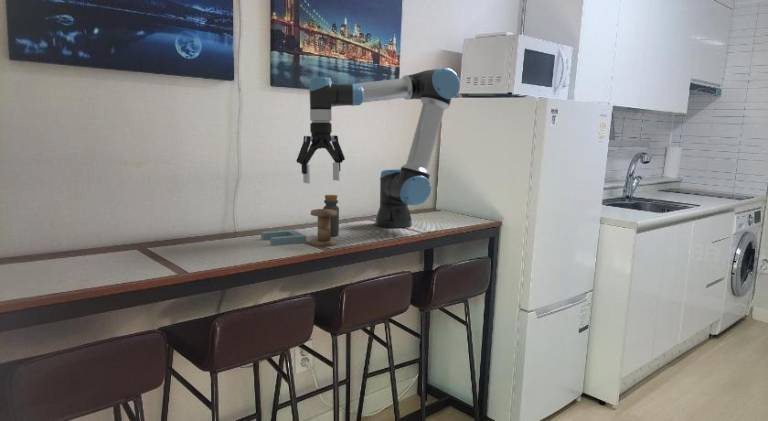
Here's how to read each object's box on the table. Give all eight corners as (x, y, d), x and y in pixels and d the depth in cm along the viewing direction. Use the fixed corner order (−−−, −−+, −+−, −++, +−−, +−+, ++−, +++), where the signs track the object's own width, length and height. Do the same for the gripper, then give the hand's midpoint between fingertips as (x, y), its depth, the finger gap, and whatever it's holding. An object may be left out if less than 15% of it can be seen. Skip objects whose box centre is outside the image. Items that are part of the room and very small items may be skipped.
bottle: (319, 235, 201) (319, 195, 198) (328, 233, 206) (328, 194, 203) (333, 237, 198) (333, 196, 196) (341, 235, 203) (342, 195, 201)
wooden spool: (330, 240, 194) (330, 208, 192) (341, 245, 186) (341, 212, 184) (306, 242, 189) (306, 209, 187) (316, 247, 181) (317, 213, 180)
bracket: (293, 236, 199) (293, 229, 199) (306, 242, 188) (306, 236, 188) (261, 238, 193) (261, 232, 193) (273, 246, 182) (272, 238, 182)
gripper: (340, 122, 204) (341, 178, 207) (285, 121, 186) (286, 183, 190) (354, 122, 199) (354, 179, 202) (298, 121, 181) (300, 185, 184)
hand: (321, 181), depth 196 cm, fingers open, 13 cm apart
